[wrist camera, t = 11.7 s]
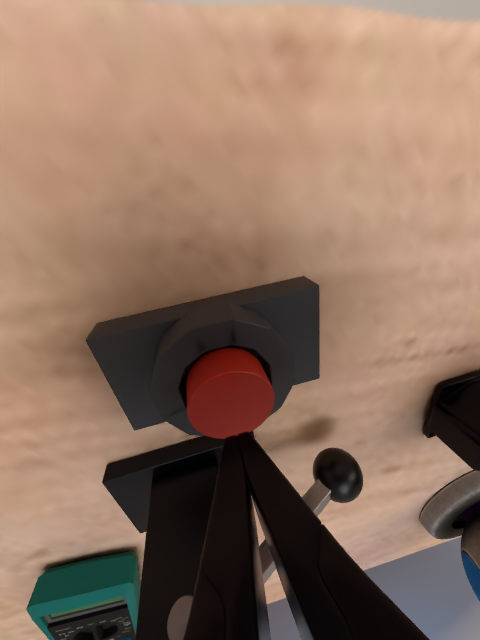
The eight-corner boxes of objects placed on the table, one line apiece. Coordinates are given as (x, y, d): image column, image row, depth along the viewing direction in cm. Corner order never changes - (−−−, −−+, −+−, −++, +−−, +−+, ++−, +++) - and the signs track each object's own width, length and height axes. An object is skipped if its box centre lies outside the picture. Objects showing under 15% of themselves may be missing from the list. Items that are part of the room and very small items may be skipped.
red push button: (258, 338, 11) (270, 361, 9) (266, 397, 12) (278, 425, 11) (176, 358, 10) (175, 386, 9) (196, 416, 12) (199, 449, 10)
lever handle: (330, 429, 18) (374, 461, 16) (329, 456, 19) (370, 488, 17) (149, 616, 11) (178, 722, 9) (169, 635, 13) (199, 729, 10)
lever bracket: (250, 422, 17) (317, 638, 9) (261, 477, 21) (317, 674, 12) (106, 464, 16) (22, 761, 8) (142, 516, 19) (111, 765, 11)
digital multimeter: (76, 631, 26) (65, 679, 23) (39, 565, 19) (18, 621, 17) (149, 610, 27) (146, 653, 25) (137, 543, 21) (131, 591, 18)
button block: (304, 271, 13) (341, 292, 10) (307, 365, 16) (336, 403, 13) (94, 318, 12) (63, 359, 9) (140, 410, 15) (129, 465, 12)
